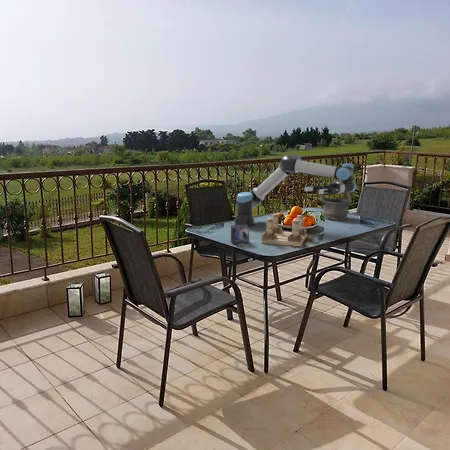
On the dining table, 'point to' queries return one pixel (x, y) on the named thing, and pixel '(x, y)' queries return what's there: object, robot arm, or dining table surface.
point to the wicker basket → (336, 207)
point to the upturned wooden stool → (282, 233)
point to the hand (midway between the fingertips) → (311, 190)
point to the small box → (239, 234)
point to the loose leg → (300, 222)
